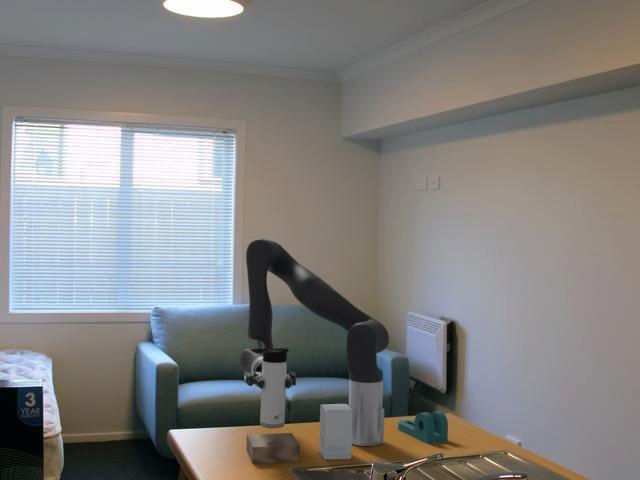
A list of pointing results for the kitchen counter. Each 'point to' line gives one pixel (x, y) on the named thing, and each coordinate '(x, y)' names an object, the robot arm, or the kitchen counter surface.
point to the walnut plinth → (273, 448)
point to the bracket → (426, 427)
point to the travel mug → (273, 388)
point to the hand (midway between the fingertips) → (275, 384)
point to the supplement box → (335, 431)
